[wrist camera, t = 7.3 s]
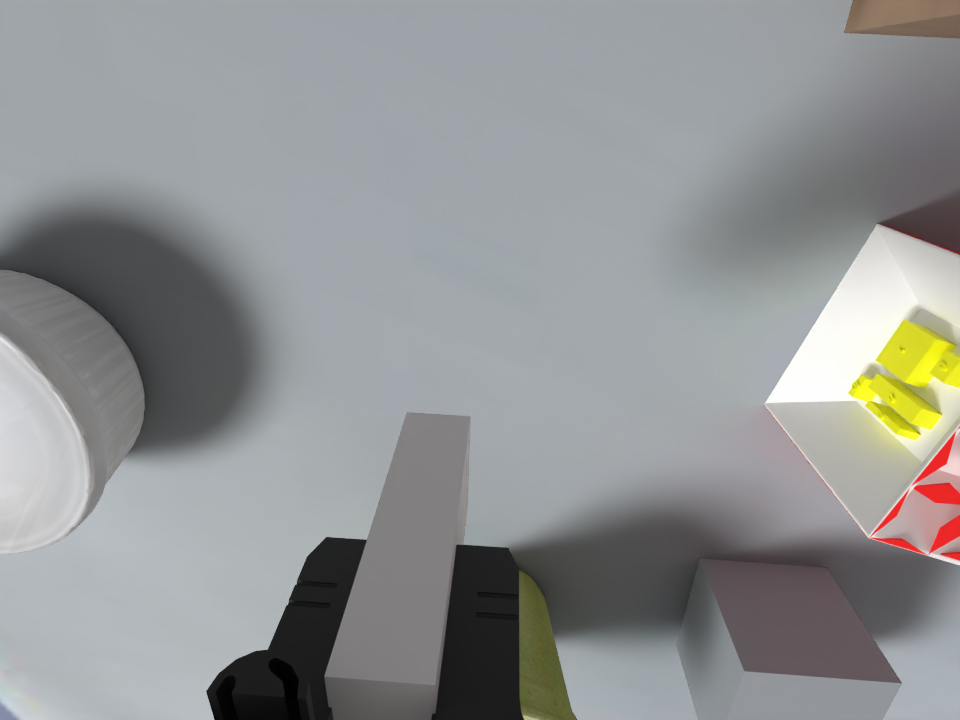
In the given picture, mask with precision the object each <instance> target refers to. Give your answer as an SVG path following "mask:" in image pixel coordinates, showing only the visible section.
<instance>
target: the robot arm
mask: <svg viewBox="0 0 960 720" xmlns="http://www.w3.org/2000/svg"><path fill="white" fill-rule="evenodd" d="M469 446H470V416H457V415H440V414H424V413H407V414H406V417H405V420H404V423H403V427H402V430H401V433H400V436H399V439H398V443H397V446H396V449H395V452H394V455H393V459H392V462H391V465H390V468H389V471H388V475H387V478H386V481H385V484H384V487H383V491H382V494H381V497H380V500H379V503H378V507H377V510H376V513H375V516H374V519H373V522H372V526H371V529H370V532H369V535H368V538H367V540H360V539H346V538H331V537H326V538H325V539H324V540H323V541H322V542H321V543H320V544H319V545H318V546H317V547H316V548H315V549H314V550H313V551H312V552H311V553H310V554H309V556H308V557H307V559H306V561H305V563H304V566H303V568H302V570H301V573H300V575H299V577H298V580H297V585H295V587H294V589H293V592H292V594H291V596H290V599H289V604H288V605H287V606H286V608H285V611H284V613H283V615H282V618H281V620H280V622H279V625H278V627H277V629H276V632H275V634H274V637H273V639H272V641H271V644H270V646H269V648H268V650H262V651H255V652H253V653H250V654H248V655H245V656H243V657H241V658H238V659H236V660H235V661H234V662H232V663H231V664H230V665H229V666H227V667H226V668H225V669H224V670H222V671H221V672H220V673H219V674H218V675H217V677H216V678H215V680H214V681H213V682H212V684H211V685H210V687H209V688H208V690H207V691H206V692H207V695H208V699H209V702H210V705H211V709H212V712H213V716H214V719H215V720H524V718H523V715H522V713H521V705H520V671H519V569H518V567H517V565H516V563H515V561H514V559H513V557H512V555H511V553H510V551H509V549H508V548H501V547H486V546H472V545H463V543H464V534H465V525H466V516H467V507H468V477H469Z"/></svg>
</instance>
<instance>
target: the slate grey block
mask: <svg viewBox="0 0 960 720" xmlns="http://www.w3.org/2000/svg"><path fill="white" fill-rule="evenodd" d="M676 645H677V649H678V652H679V656H680V659H681V663H682V666H683V669H684V673H685V676H686V680H687V683H688V687H689V690H690V694H691V697H692V701H693V704H694V707H695V711H696V714H697V718H698V720H882V719H883V718H884V716H885V714H886V712H887V710H888V708H889V707H890V705H891V703H892V701H893V699H894V697H895V695H896V694H897V692H898V690H899V688H900V686H901V684H902V683H901V681H900V679H899V678H898V676H897V675H896V673H895V672H894V670H893V669H892V667H891V666H890V664H889V662H888V661H887V659H886V658H885V656H884V655H883V653H882V652H881V650H880V649H879V647H878V646H877V644H876V642H875V641H874V639H873V638H872V636H871V635H870V633H869V632H868V630H867V629H866V627H865V625H864V624H863V622H862V621H861V619H860V618H859V616H858V615H857V613H856V612H855V610H854V608H853V607H852V605H851V604H850V602H849V601H848V599H847V598H846V596H845V595H844V593H843V592H842V590H841V588H840V587H839V585H838V584H837V582H836V581H835V579H834V578H833V576H832V575H831V573H830V571H829V570H828V568H827V567H815V566H801V565H786V564H772V563H758V562H744V561H730V560H716V559H702V558H700V560H699V563H698V567H697V571H696V574H695V578H694V581H693V585H692V589H691V592H690V596H689V600H688V603H687V607H686V611H685V614H684V618H683V622H682V625H681V629H680V632H679V636H678V640H677V643H676Z"/></svg>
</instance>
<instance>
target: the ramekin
mask: <svg viewBox="0 0 960 720" xmlns="http://www.w3.org/2000/svg"><path fill="white" fill-rule="evenodd" d="M144 400H145V394H144V390H143V383H142V380H141V377H140V373H139V370H138V367H137V364H136V362H135V360H134V358H133V355H132V353H131V352H130V350H129V348H128V347H127V345H126V343H125V342H124V340H123V339H122V338H121V336H120V335H119V334H118V333H117V331H116V330H115V329H114V328H113V327H112V325H111V324H110V323H109V322H108V321H107V320H106V319H105V318H104V317H103V316H102V315H101V314H99V313H98V312H97V311H96V310H94V309H93V308H92V307H91V306H89V305H88V304H87V303H85V302H84V301H83V300H81V299H79V298H78V297H76V296H75V295H73V294H71V293H69V292H68V291H66V290H64V289H62V288H61V287H58V286H56V285H53V284H51V283H49V282H47V281H45V280H43V279H40V278H35V277H33V276H31V275H28V274H26V273H18V272H15V271H11V270H0V554H12V553H21V552H27V551H32V550H37V549H41V548H44V547H47V546H49V545H52V544H54V543H56V542H58V541H60V540H61V539H63V538H64V537H66V536H67V535H69V534H70V533H71V532H72V531H73V530H75V529H76V528H77V527H78V526H79V525H80V524H81V523H82V522H83V521H84V520H85V519H86V518H87V516H88V515H89V514H90V513H91V512H92V511H93V509H94V508H95V506H96V505H97V503H98V501H99V499H100V498H101V495H102V493H103V490H104V487H105V484H106V483H107V482H108V480H109V479H110V478H111V476H112V475H113V474H114V472H115V471H116V469H117V468H118V466H119V465H120V463H121V462H122V461H123V459H124V458H125V456H126V455H127V454H128V452H129V451H130V449H131V448H132V447H133V445H134V444H135V441H136V439H137V437H138V435H139V434H140V431H141V425H142V424H143V421H144V411H145V401H144Z"/></svg>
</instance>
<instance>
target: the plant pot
mask: <svg viewBox="0 0 960 720" xmlns="http://www.w3.org/2000/svg"><path fill="white" fill-rule="evenodd" d="M519 671H520V705H521V713H522V715H523V718H524V720H577V719H576V717H575V715H574V714H573V712H572V710H571V706H570V702H569V698H568V694H567V690H566V686H565V681H564V677H563V673H562V669H561V665H560V661H559V657H558V652H557V648H556V644H555V640H554V635H553V631H552V626H551V621H550V617H549V613H548V608H547V604H546V600H545V598H544V596H543V594H542V592H541V591H540V589H539V588H538V586H537V585H536V583H535V581H534V580H533V579H532V578H531V577H530V576H528V575H527V574H526V573H524V572H523V571H521V570H519Z"/></svg>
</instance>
